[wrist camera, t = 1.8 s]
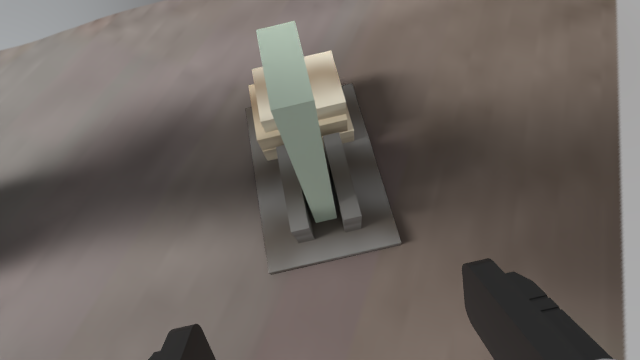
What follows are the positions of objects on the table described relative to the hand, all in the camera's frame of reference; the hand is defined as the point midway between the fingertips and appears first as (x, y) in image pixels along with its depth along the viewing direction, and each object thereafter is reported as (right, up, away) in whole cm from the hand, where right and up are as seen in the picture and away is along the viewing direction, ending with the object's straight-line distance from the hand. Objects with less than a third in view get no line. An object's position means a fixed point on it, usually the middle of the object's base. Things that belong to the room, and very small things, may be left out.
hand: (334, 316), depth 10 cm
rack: (-1, +5, +25) cm, 25 cm away
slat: (0, +3, +22) cm, 23 cm away
